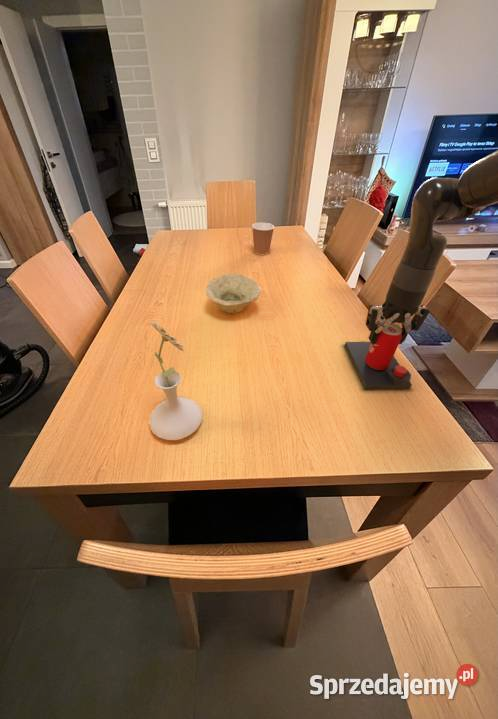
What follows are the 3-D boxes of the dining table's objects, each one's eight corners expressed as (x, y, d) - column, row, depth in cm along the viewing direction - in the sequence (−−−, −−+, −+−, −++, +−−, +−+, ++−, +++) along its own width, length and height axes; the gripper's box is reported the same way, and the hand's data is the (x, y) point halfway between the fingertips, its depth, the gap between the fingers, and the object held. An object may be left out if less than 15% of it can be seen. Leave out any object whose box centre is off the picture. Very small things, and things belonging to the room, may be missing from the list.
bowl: (243, 308, 113) (272, 295, 103) (212, 326, 101) (240, 313, 90) (226, 274, 110) (253, 257, 100) (192, 288, 98) (218, 270, 88)
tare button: (406, 377, 76) (408, 372, 75) (395, 378, 76) (398, 373, 75) (401, 370, 78) (403, 365, 77) (391, 370, 78) (393, 365, 77)
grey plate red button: (410, 390, 77) (415, 380, 75) (365, 391, 77) (369, 381, 74) (382, 345, 91) (386, 336, 89) (344, 346, 90) (347, 336, 88)
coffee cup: (264, 246, 149) (265, 221, 141) (276, 253, 143) (279, 227, 135) (246, 250, 145) (247, 224, 137) (258, 257, 138) (260, 231, 130)
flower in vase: (208, 435, 65) (199, 345, 49) (154, 451, 62) (125, 360, 45) (194, 393, 74) (183, 305, 58) (147, 405, 71) (120, 315, 54)
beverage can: (378, 355, 85) (393, 319, 77) (392, 369, 81) (410, 333, 73) (359, 359, 83) (372, 323, 75) (373, 373, 79) (388, 337, 71)
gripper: (385, 290, 63) (363, 352, 74) (451, 290, 64) (419, 351, 75) (372, 274, 68) (353, 334, 79) (432, 275, 69) (405, 333, 80)
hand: (385, 342), depth 77 cm, fingers closed on beverage can, 6 cm apart
